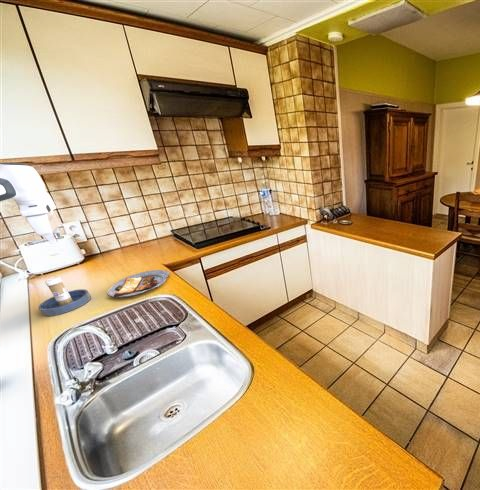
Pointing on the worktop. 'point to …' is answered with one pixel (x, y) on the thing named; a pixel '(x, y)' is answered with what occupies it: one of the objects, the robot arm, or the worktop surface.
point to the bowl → (54, 308)
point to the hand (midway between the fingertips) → (56, 240)
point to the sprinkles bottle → (59, 291)
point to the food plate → (138, 283)
